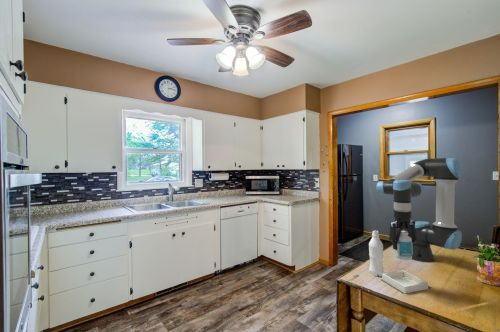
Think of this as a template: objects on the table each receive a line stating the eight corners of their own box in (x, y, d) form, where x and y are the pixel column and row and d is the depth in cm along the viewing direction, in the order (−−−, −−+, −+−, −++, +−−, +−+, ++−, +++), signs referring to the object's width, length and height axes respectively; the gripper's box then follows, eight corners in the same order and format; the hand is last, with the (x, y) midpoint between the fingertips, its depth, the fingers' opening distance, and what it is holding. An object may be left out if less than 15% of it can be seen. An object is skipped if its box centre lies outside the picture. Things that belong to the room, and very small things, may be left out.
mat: (407, 276, 129) (407, 274, 129) (432, 289, 116) (432, 287, 116) (380, 281, 125) (380, 279, 125) (403, 295, 111) (403, 293, 111)
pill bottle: (415, 258, 118) (414, 232, 118) (406, 262, 115) (406, 234, 115) (400, 253, 125) (399, 228, 125) (391, 256, 121) (391, 231, 121)
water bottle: (366, 272, 135) (365, 229, 134) (378, 271, 135) (377, 228, 135) (374, 278, 128) (373, 233, 127) (386, 277, 128) (385, 232, 128)
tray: (403, 275, 128) (403, 270, 128) (428, 288, 115) (427, 282, 115) (381, 279, 125) (381, 273, 125) (404, 293, 112) (404, 287, 112)
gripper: (411, 207, 125) (412, 249, 126) (379, 210, 121) (380, 254, 121) (425, 210, 118) (426, 255, 118) (391, 213, 113) (392, 260, 114)
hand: (403, 254), depth 120 cm, fingers closed on pill bottle, 7 cm apart
